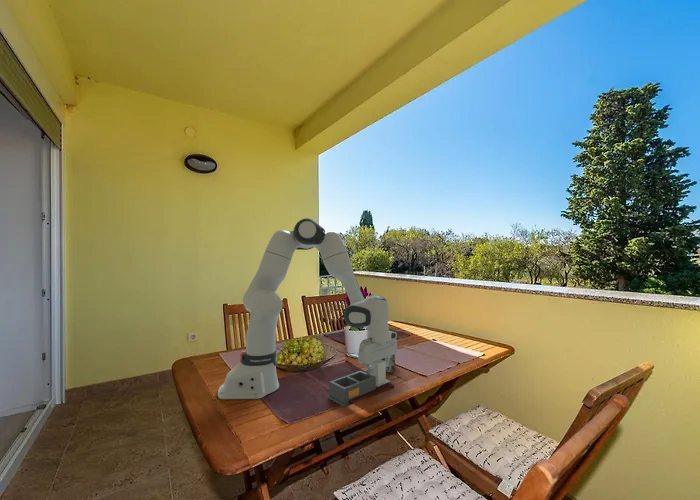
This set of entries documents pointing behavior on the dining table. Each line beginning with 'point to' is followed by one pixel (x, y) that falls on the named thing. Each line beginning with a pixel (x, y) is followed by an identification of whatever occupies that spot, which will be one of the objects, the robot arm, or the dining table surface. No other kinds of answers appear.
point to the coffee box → (390, 364)
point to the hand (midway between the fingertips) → (378, 370)
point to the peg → (379, 371)
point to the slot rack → (352, 387)
